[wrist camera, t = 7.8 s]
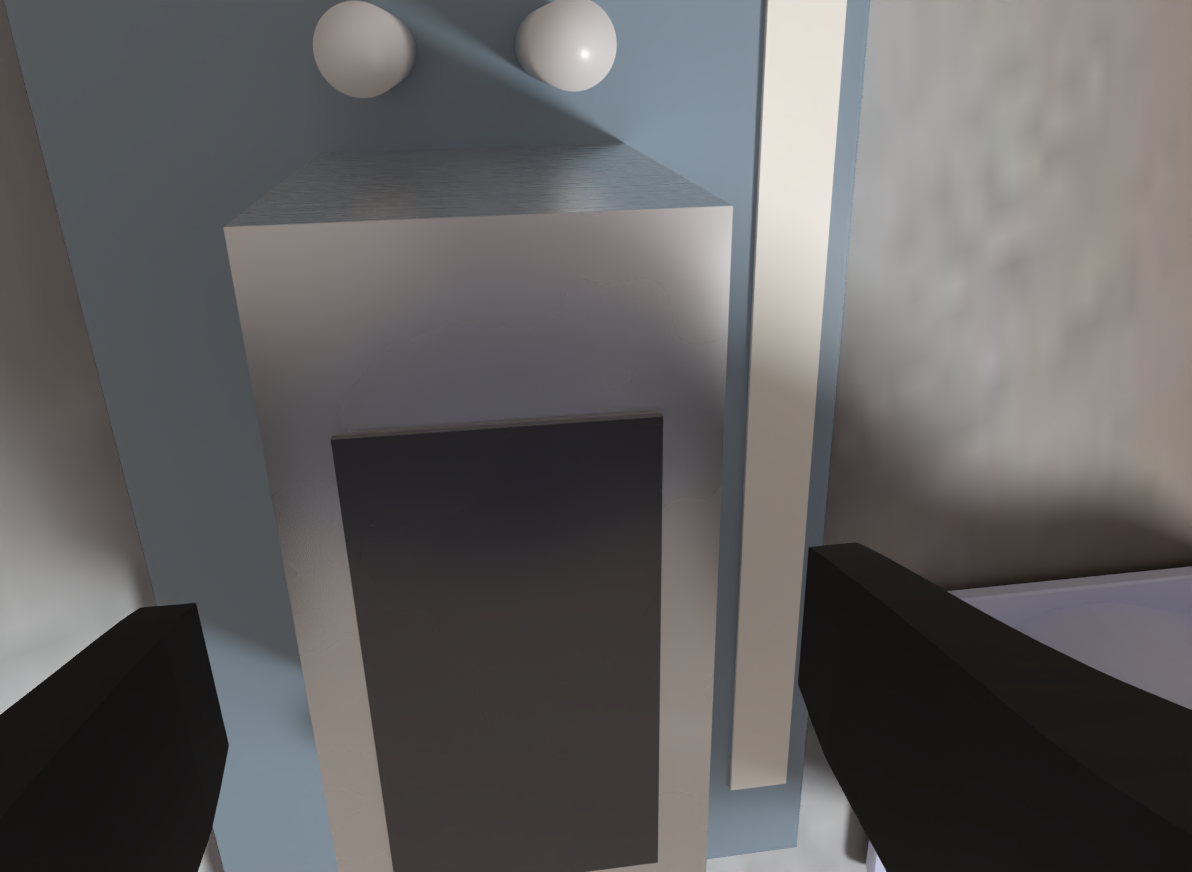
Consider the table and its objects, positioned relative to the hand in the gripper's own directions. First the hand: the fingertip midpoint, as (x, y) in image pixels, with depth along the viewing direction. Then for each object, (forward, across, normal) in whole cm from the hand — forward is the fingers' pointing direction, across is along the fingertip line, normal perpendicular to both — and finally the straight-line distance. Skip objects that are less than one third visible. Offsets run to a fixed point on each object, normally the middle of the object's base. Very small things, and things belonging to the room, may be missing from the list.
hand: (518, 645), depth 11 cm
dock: (+6, 0, 0) cm, 6 cm away
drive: (+5, 0, 0) cm, 5 cm away
